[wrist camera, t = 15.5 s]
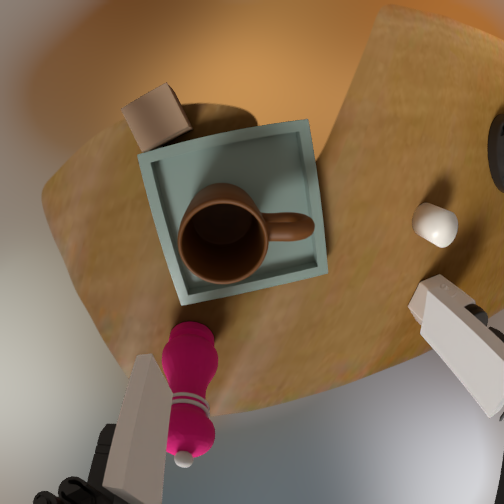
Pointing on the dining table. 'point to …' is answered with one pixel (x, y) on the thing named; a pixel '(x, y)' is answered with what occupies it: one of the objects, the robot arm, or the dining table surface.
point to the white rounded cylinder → (435, 224)
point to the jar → (461, 297)
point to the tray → (251, 181)
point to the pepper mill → (189, 390)
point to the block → (156, 118)
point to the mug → (232, 233)
